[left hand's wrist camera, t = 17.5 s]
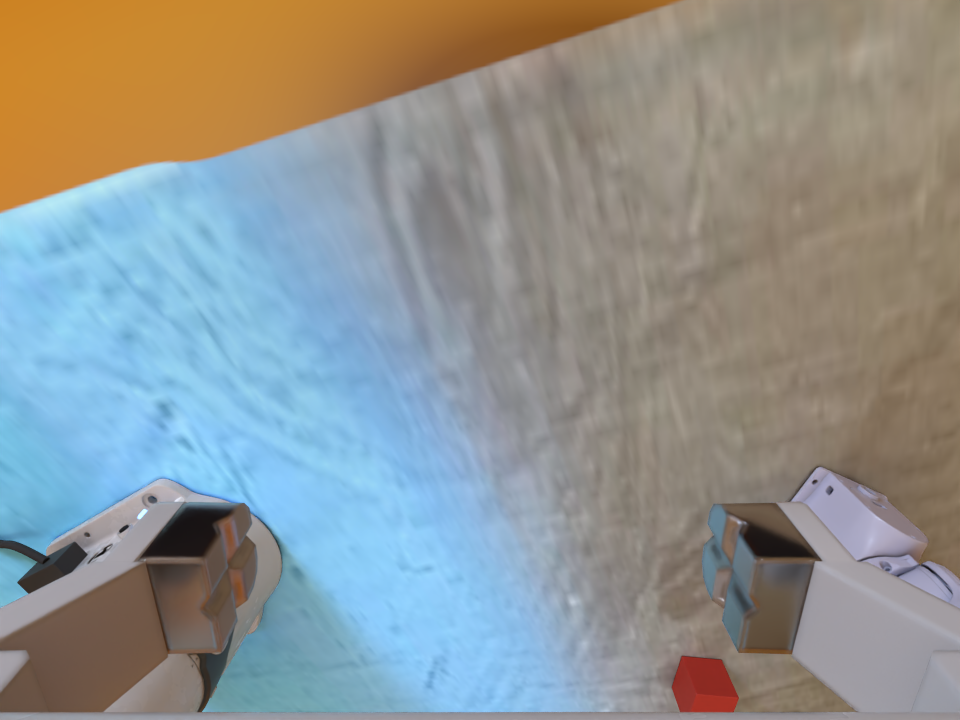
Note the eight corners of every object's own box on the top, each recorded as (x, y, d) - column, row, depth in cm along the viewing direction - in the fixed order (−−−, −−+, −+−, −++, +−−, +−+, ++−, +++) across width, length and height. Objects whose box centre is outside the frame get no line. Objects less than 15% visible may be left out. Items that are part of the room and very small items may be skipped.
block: (710, 691, 65) (726, 730, 61) (671, 687, 65) (685, 727, 61) (721, 659, 64) (739, 697, 60) (681, 655, 64) (696, 694, 59)
